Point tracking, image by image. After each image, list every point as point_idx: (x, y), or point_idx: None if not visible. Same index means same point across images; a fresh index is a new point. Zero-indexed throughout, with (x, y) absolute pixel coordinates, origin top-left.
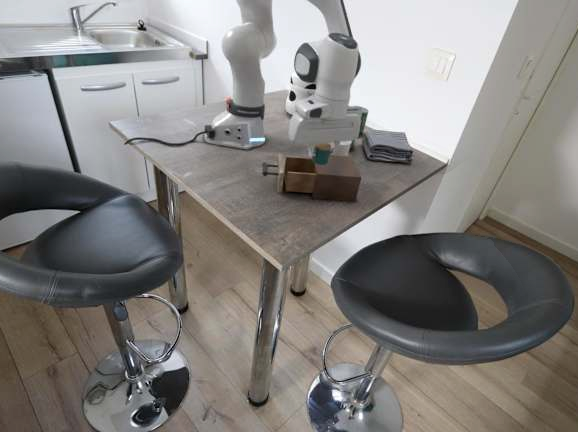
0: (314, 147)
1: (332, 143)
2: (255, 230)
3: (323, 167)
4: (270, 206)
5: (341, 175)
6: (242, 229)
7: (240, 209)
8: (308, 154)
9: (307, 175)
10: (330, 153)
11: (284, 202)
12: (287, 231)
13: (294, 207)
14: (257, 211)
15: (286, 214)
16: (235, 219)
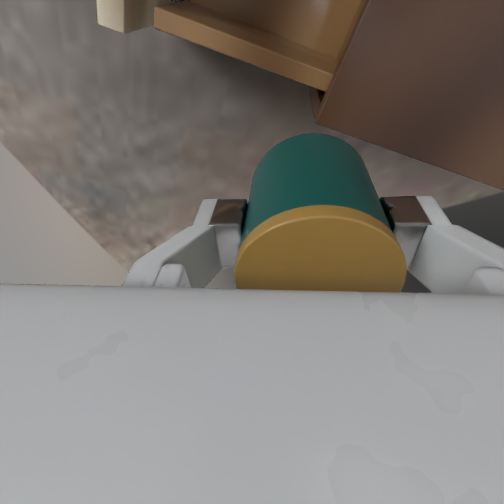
0: (243, 236)
1: (473, 254)
2: (84, 203)
3: (419, 37)
4: (122, 103)
5: (447, 167)
6: (50, 192)
7: (18, 98)
8: (203, 203)
9: (275, 72)
10: None
11: (178, 87)
12: (164, 224)
13: (209, 129)
14: (78, 123)
15: (173, 160)
16: (19, 148)
